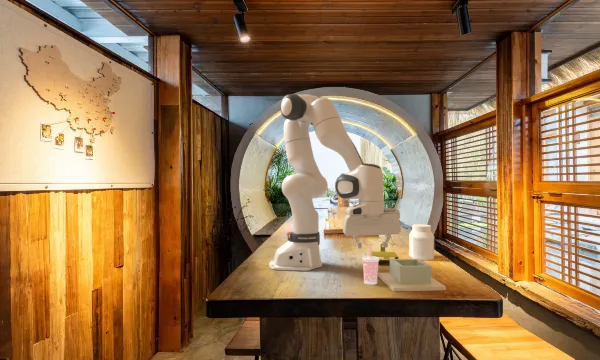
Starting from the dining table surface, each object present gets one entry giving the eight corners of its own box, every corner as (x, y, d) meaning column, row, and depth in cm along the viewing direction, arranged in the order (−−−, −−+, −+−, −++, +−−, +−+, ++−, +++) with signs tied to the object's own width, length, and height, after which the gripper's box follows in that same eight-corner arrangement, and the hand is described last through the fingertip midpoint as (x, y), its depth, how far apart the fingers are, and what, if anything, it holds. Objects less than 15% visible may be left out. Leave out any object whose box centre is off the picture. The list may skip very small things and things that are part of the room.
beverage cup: (360, 280, 133) (360, 242, 132) (377, 280, 133) (377, 242, 132) (363, 285, 127) (363, 245, 126) (380, 285, 126) (381, 245, 126)
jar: (407, 254, 174) (407, 223, 174) (427, 254, 174) (427, 223, 174) (414, 260, 162) (414, 227, 162) (436, 260, 162) (436, 227, 162)
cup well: (393, 291, 120) (393, 269, 120) (377, 275, 138) (377, 257, 138) (445, 290, 121) (446, 268, 121) (423, 274, 139) (423, 256, 139)
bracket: (368, 250, 150) (365, 243, 165) (368, 268, 151) (365, 260, 165) (406, 250, 149) (400, 243, 164) (406, 269, 149) (400, 260, 164)
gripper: (396, 207, 133) (397, 244, 133) (341, 208, 131) (342, 246, 131) (403, 208, 127) (403, 248, 127) (345, 210, 125) (346, 250, 125)
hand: (372, 247), depth 129 cm, fingers open, 8 cm apart
